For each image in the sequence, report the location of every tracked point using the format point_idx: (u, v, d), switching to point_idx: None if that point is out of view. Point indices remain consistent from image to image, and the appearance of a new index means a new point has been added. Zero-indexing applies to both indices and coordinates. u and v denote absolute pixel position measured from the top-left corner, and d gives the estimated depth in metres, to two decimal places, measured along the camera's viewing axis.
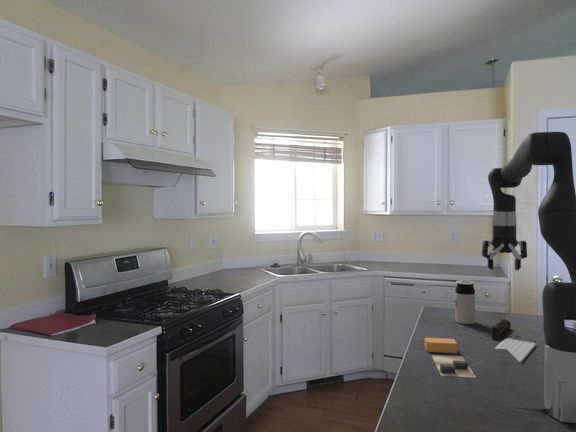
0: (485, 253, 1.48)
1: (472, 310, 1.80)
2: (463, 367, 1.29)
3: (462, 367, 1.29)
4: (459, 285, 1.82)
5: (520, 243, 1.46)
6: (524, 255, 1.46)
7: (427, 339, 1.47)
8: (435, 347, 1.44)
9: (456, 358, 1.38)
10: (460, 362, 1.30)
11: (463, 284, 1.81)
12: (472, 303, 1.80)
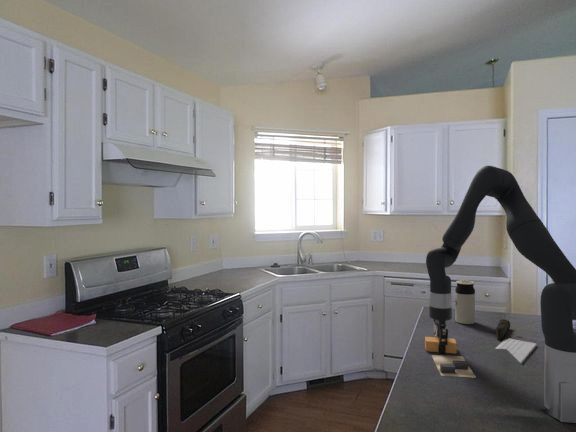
0: None
1: (472, 310, 1.80)
2: (463, 367, 1.29)
3: (462, 367, 1.29)
4: (459, 285, 1.82)
5: None
6: None
7: (427, 338, 1.48)
8: (434, 346, 1.44)
9: (456, 358, 1.38)
10: (460, 362, 1.30)
11: (463, 284, 1.81)
12: (472, 303, 1.80)
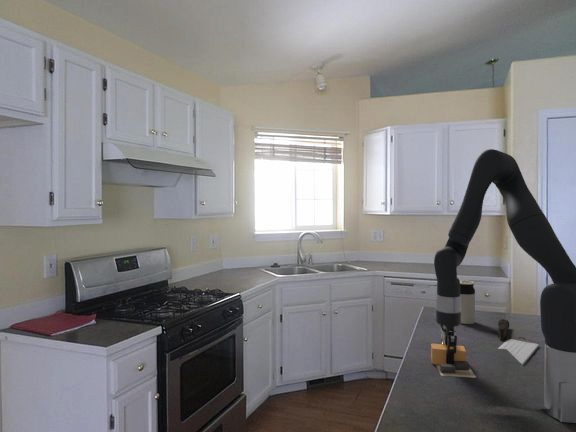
0: None
1: (472, 310, 1.80)
2: (464, 368, 1.28)
3: (463, 368, 1.28)
4: None
5: None
6: None
7: (433, 345, 1.36)
8: (441, 354, 1.32)
9: None
10: (461, 363, 1.29)
11: (463, 284, 1.81)
12: (472, 303, 1.80)
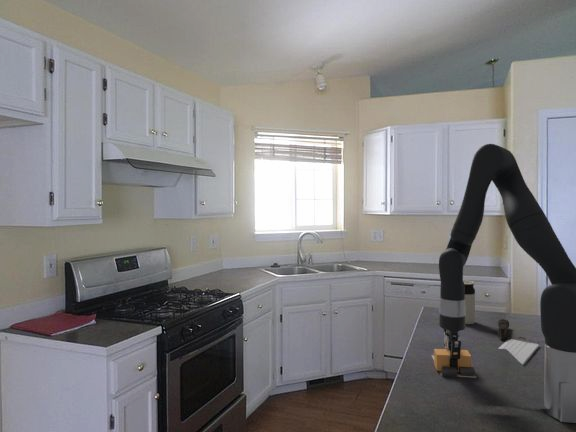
0: None
1: (472, 310, 1.80)
2: (470, 374, 1.24)
3: (469, 374, 1.24)
4: None
5: None
6: None
7: (437, 351, 1.30)
8: (446, 360, 1.27)
9: None
10: (467, 368, 1.25)
11: None
12: (472, 303, 1.80)
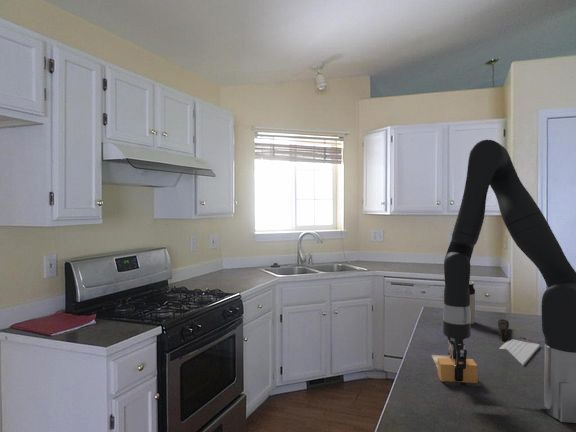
0: None
1: (472, 310, 1.80)
2: None
3: None
4: None
5: None
6: None
7: (441, 360, 1.23)
8: (451, 370, 1.20)
9: None
10: None
11: None
12: (472, 303, 1.80)
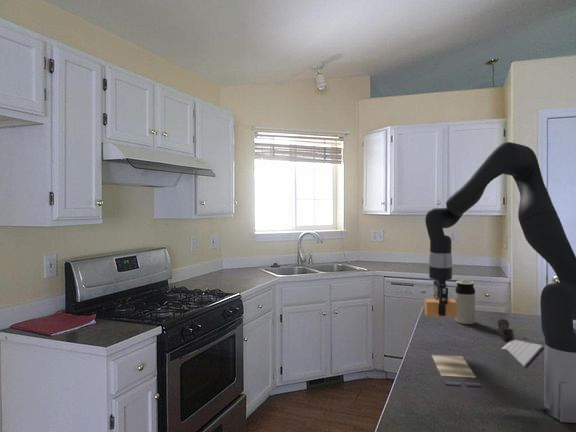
0: None
1: (472, 310, 1.80)
2: None
3: None
4: (459, 285, 1.82)
5: None
6: None
7: (427, 300, 1.47)
8: (435, 307, 1.44)
9: (456, 358, 1.38)
10: None
11: (463, 284, 1.81)
12: (472, 303, 1.80)
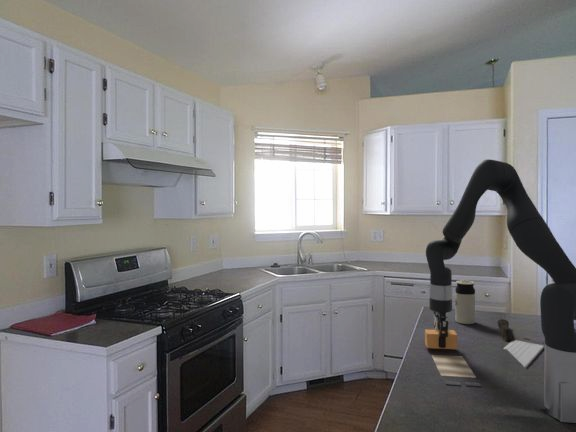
0: None
1: (472, 310, 1.80)
2: None
3: None
4: (459, 285, 1.82)
5: None
6: None
7: (427, 331, 1.47)
8: (435, 339, 1.44)
9: (456, 358, 1.38)
10: None
11: (463, 284, 1.81)
12: (472, 303, 1.80)
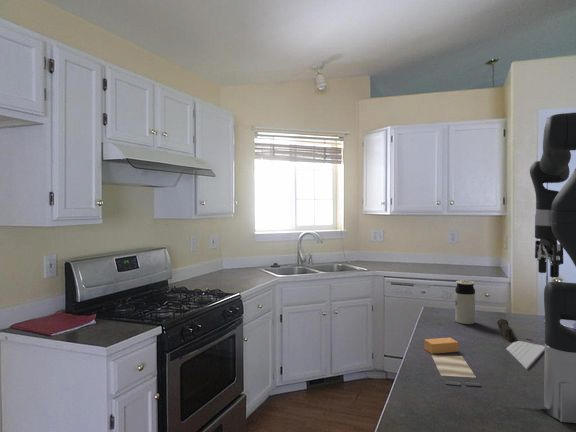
0: None
1: (472, 310, 1.80)
2: None
3: None
4: (459, 285, 1.82)
5: None
6: None
7: (429, 341, 1.46)
8: (439, 348, 1.43)
9: (456, 358, 1.38)
10: None
11: (463, 284, 1.81)
12: (472, 303, 1.80)
